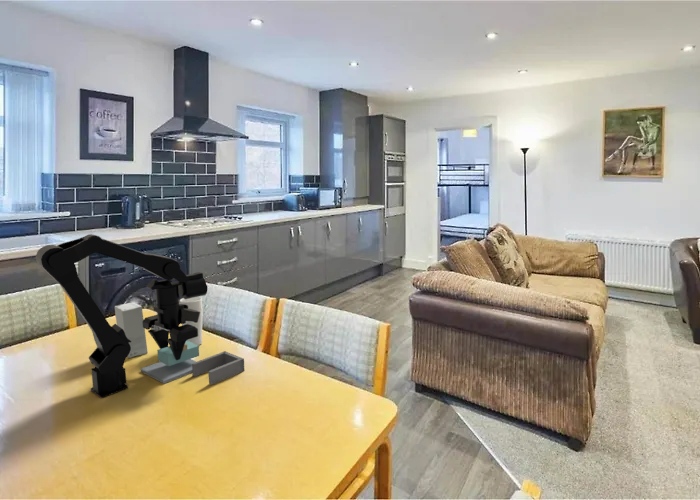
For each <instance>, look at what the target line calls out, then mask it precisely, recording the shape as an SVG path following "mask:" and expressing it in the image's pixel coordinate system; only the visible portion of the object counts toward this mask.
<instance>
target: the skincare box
mask: <svg viewBox="0 0 700 500" xmlns="http://www.w3.org/2000/svg"><path fill="white" fill-rule="evenodd" d="M114 313H115V321H116V325H118V326H119V327H121V328H122V329H123V330H124V332H125V335H126V337H127V338H128V339H129V340H130V341H131V342H129V344H130V347H131V350H130V353H129V355H128V356H127V359H129V358H133V357H138V356H141V355H146V354H148V351H149V350H148V345H147V337H146V336H147V335H146V329H145V328H143V322H142V321H143V320H144V319H145V318H144V313H143V306H141V305H140V304H138V303H136V302H134V301H133V302H127V303H124V304H123V303H122V304H118V305H114Z"/></svg>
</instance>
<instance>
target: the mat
mask: <svg viewBox="0 0 700 500" xmlns="http://www.w3.org/2000/svg"><path fill="white" fill-rule="evenodd" d="M195 362H197V361H196V360H194V359H193V358H192V359H189V360H186V361H183V362H180V363H177V364H174V365H171V366H167V365H166V364H164V363H162V362H160V361H158V362H156V363H153V364H149V365H148V366H147V365H146V366H143V367H141V368H140V372H141V373H143V374H145V375H147V376H149V377H150V378H152V379H154V380H155V381H157V382H160V383H161V384H163V385H165V384H168V383H170V382H172V381H175V380H177V379H180V378H183V377H185V376H187V375H190V374H192V363H195Z"/></svg>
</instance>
